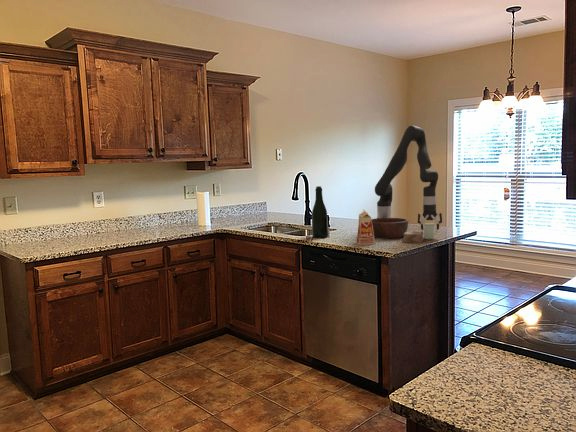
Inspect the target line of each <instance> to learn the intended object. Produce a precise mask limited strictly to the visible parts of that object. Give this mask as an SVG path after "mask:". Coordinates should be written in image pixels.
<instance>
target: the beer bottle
mask: <svg viewBox="0 0 576 432" xmlns="http://www.w3.org/2000/svg"><path fill="white" fill-rule="evenodd" d="M314 201H315V202H314V205H313V207H312V211H311V236H312V237H313V238H315V239H325V238H328V236H329V221H328V211H327V208H326V205H325V202H324V197H323V188H322V186H321V185H320V186H319V185H317V186H315V200H314Z"/></svg>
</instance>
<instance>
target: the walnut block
mask: <svg viewBox="0 0 576 432" xmlns="http://www.w3.org/2000/svg"><path fill="white" fill-rule="evenodd" d="M423 239H424V231H407V232H405V233H404V236H403V243H423Z"/></svg>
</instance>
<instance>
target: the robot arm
mask: <svg viewBox="0 0 576 432" xmlns="http://www.w3.org/2000/svg"><path fill="white" fill-rule="evenodd" d="M411 142H415V143H416V145H417V147H418V150H417V154H416V159H417V162H418V167H419V179H420V181H421V183H429V184H428V185H426V186H424V187H423V188H422V192H423V194H422V195H423V199H422V213H420V212H419V213H417V223H418V224H419V225H420V229H421V231H424V223H426V221H434V222H435V223H436V231H439V230H440V224H442V223H443V215H442V212H438V213H437V197H436V189H437V184H438V181H439V173H438V171H437V170H433V169H431V170H429V169H430V168H431V167H432V162H431V159H430V156H429V153H428V145H427V140H426V134H425V130H424V129H423V128H422V127H419V126H416V125H414V124H413V125H409V126H407V128H406V129H405V130H404V134H403V135H402V137H401V140H400V141H399V145H398V146H397V149H396V150H395V152H394V154H393V156H392V157H391V159H390V161H389V163H388V165H387V167H386V169H385V171H384V172H383V174H382V176H381V177H380V179H379V180H378V182H377V183H376V185H375V186H374V193H375V195H376V196H378V197H379V199H378V200H377V202H376V205H377V206H376V208H377V209H376V211H377V212H376V213H377V214H376V215H377V216H376V218H392V202H393V186H392V184H391V183H392V181H393V180H394V179H395V178H396V176H398V175H399V174H400V172H402V170H403V169H404V167H405V165H406V163H407V160H408V148H409V146H410V144H411ZM437 216H438V217H439V220H438V219H437ZM421 217H423V219H422V220H421Z"/></svg>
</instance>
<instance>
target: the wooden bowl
mask: <svg viewBox="0 0 576 432" xmlns="http://www.w3.org/2000/svg"><path fill="white" fill-rule="evenodd" d="M371 219H372V225H373V232H374V238H378V239H397V238H399V239H400V238H404V233H405V232H408V228H409V219H407V218H403V217H391V218H377V217H376V218H371Z"/></svg>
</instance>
